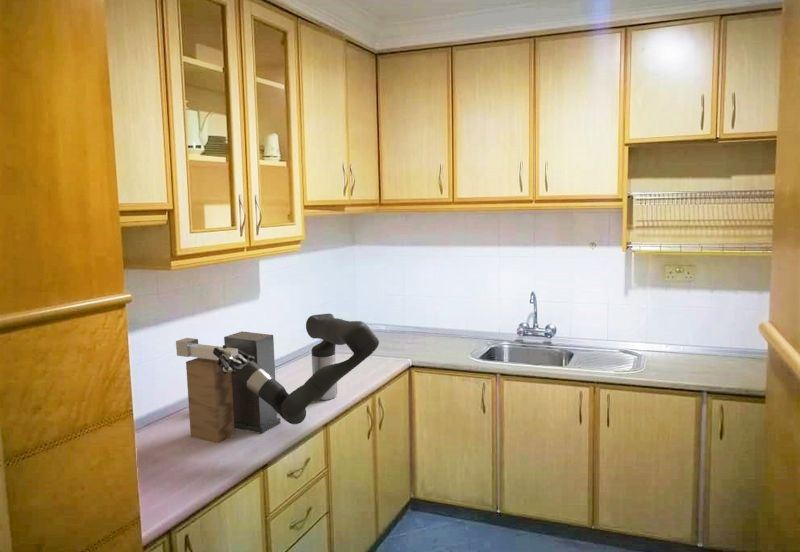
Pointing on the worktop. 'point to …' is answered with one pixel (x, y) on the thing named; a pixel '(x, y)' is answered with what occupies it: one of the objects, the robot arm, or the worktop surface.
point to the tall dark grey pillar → (247, 404)
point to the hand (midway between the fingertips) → (218, 348)
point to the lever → (201, 349)
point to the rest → (209, 400)
